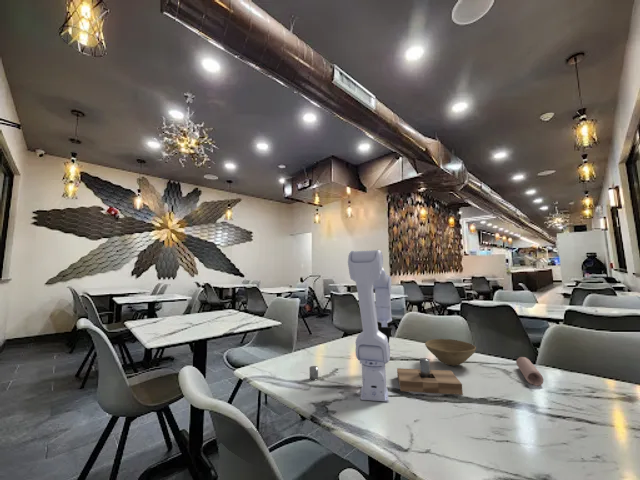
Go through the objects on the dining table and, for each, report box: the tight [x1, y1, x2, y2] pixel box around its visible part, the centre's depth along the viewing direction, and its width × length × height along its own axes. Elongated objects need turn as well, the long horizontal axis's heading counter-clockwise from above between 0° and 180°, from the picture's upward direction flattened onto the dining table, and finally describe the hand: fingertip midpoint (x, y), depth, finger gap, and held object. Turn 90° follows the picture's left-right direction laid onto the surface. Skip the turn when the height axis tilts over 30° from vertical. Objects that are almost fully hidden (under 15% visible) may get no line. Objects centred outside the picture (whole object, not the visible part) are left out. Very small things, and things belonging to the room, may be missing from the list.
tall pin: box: [419, 357, 431, 378], centre depth 92 cm, size 3×3×8 cm
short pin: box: [309, 365, 319, 381], centre depth 99 cm, size 3×3×4 cm
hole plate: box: [396, 367, 463, 395], centre depth 91 cm, size 12×18×3 cm, turn 79°
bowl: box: [424, 338, 477, 367], centre depth 112 cm, size 18×18×8 cm
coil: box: [515, 356, 545, 387], centre depth 98 cm, size 5×5×18 cm
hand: (384, 343), depth 105 cm, fingers open, 7 cm apart
